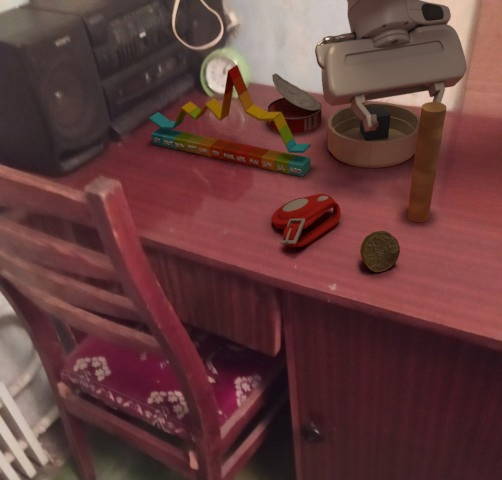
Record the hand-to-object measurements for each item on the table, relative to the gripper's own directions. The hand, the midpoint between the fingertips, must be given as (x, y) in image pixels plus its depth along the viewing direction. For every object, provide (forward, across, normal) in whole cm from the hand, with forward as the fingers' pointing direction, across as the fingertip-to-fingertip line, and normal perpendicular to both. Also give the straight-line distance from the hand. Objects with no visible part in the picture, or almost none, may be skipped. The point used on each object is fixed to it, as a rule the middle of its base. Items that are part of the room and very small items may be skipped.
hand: (403, 124), depth 82 cm
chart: (-7, -22, +22) cm, 32 cm away
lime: (+19, -10, -4) cm, 22 cm away
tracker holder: (+11, -17, +4) cm, 21 cm away
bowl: (-3, +2, +18) cm, 18 cm away
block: (-6, +3, +20) cm, 21 cm away
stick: (+13, 0, +2) cm, 13 cm away
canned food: (-13, -8, +28) cm, 31 cm away
